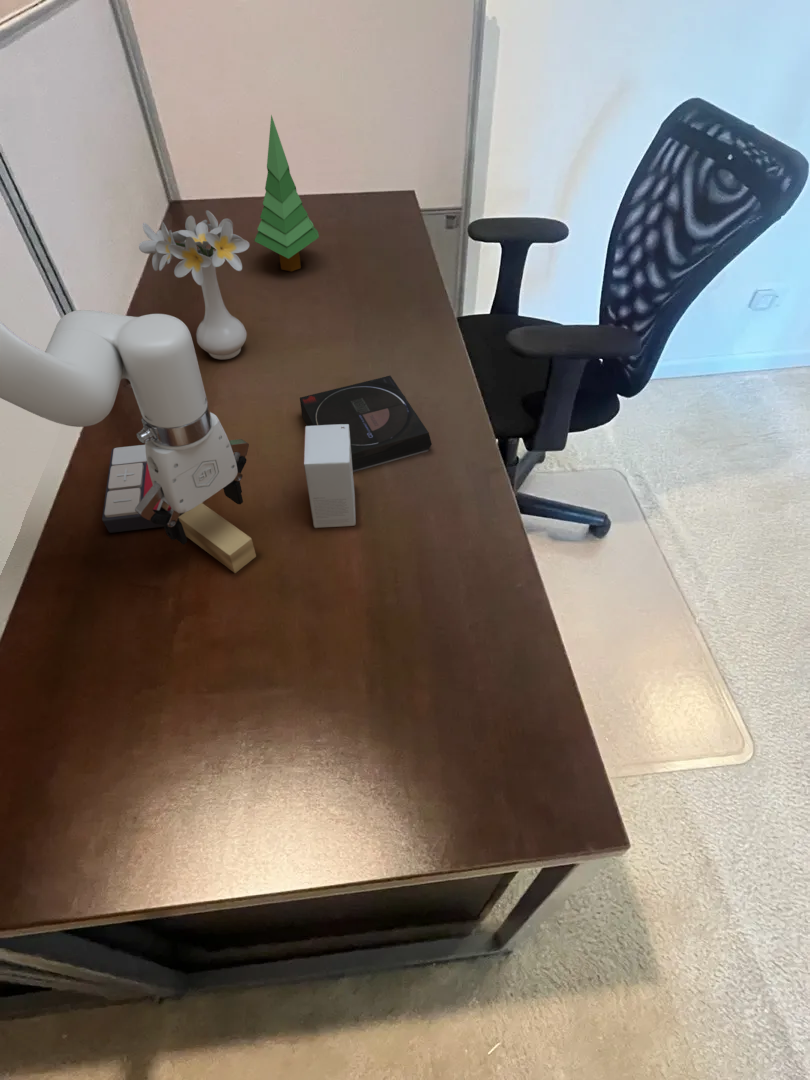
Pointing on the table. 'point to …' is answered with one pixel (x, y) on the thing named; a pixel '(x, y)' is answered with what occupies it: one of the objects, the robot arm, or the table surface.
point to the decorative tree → (283, 210)
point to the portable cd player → (370, 421)
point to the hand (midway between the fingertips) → (207, 518)
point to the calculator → (127, 490)
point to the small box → (329, 475)
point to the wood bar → (218, 537)
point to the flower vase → (204, 275)
